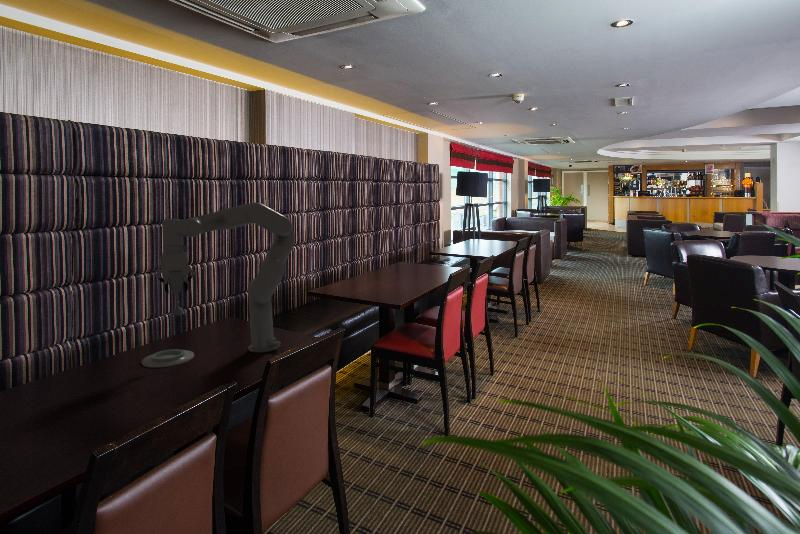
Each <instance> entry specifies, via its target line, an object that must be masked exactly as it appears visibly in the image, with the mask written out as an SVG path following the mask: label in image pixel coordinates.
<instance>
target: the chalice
mask: <svg viewBox="0 0 800 534" xmlns="http://www.w3.org/2000/svg"><path fill="white" fill-rule="evenodd" d="M182 272H183V271H181V272H169V273H170V277H169V278H168V281H167V282H168V287H169V288H170V290H171V291H172V292H173V294H175V302H174V303H175V305H176V307H174V308H173V310H172V313H171V315H172V316H181V315H182V316H183V315H184V314H185V312H184V311H185V310H184V309H183V307H181V306H180V297H179V293H181V292H182V289H184V281H185V280H184V278H183V276H182Z"/></svg>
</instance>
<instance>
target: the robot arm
mask: <svg viewBox="0 0 800 534" xmlns="http://www.w3.org/2000/svg"><path fill="white" fill-rule="evenodd" d="M253 224H254V225H257V226H259V227H261V228H263V229H264V230H266V231H267V232H269V233H272V234H274V239H273V242H272V244H271V246H270V248H269V250H268V251H267V254H266V256H265V257H264V258H263V260H262V262H261V264H260V269H259V272H258V273H257V275H256V276H255V277H254V278H252V279H251V280H250V281H249V283H248V284H247V297H248V310H249V323H250V324H249V325H250V327H249V328H250V339H251V344H250V345H249V346H248V347H247V348H248V349H247V350H248V351H249V352H251V353H257V354H258V353H268V352H272V351H275V350H276V349H277V348H279V347H281V344H282V342H281V341H280V340H277V338H276V336H275V335H274V321H273V306H272V296H274V293H275V291H276V290H277V288H278V286H279V285H280V283H281V280H282V279H283V277H284V274H285V264H286V262H287V260H288V258H289V256H290V255H291V252H292V251H293V249H294V245H295V239H296V237H295V232H294V231H295V230H294V228H293V223H292V221H291V219H289V217H286V216H285V215H283V214H281V213H279V212H277V211H276V210H273V209H272V208H270V207H268V206H266V205H265V204H263V203H261V202H257V201H256V202H249V203H244V204H241V205H237V206H232V207H227V208H223V209H220V210H218V211H217V210H216V211H215V212H211V213H210V212H209V213H206V214H203V215H198V216H193V217H189V218H186V219H185V218H184V219H180V218H165V219H163V220H162V223H161V227H162V243H163V252H162V253H161V258H160V259H161V261H160V262H161V265H160V266H161V267H160V269H159V270H158V271H157V272H156V273H155V274H154V277H155V278H156V279H157V280H159V282H161V283H162V284H164V292H165V293H166V294H167V295H169V294H170V291H169V284H168V278H169V277H170V273H169V272H181V271H183V272H182V276H183V278H184V285H183V290H184V293H185V294H186V293H187V291H188V290H189V282H190V281H191V280H192V279H193V277H195V276H196V274H197V273H196V272H195V271H194V269H192V268H191V267H190V266H189V261H188V260H189V259H188V254H187V251H186V250H188V249H189V248H188V245H185V244H184V237H186V238H187V237H188V238H195V237H198V236H199V235H202V234H205V233H209V232H215V231H219V230H231V229H237V228H239V227H245V226H248V225H253ZM189 273H190V274H189ZM160 275H162V277H161V276H160ZM188 275H189V276H188ZM187 276H188V277H187ZM163 277H164V278H163Z"/></svg>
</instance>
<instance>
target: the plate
mask: <svg viewBox="0 0 800 534" xmlns="http://www.w3.org/2000/svg"><path fill="white" fill-rule="evenodd" d="M194 357H195V353H194V352H193V351H191V350H187V349H178V348H175V349H165V350H160V351H158V352H154V353H153V354H150V355H147V356H145V357H144V358H142V359H141V365H142V366H143V367H146V368H152V369H153V368H154V369H156V368H157V369H159V368H168V367H174V366H175V367H176V366H177V365H178V366H179V365H181V364H185V363H187V362H190V361H191V360H192V359H194Z"/></svg>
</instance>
